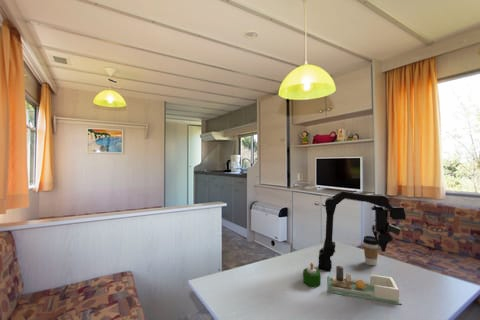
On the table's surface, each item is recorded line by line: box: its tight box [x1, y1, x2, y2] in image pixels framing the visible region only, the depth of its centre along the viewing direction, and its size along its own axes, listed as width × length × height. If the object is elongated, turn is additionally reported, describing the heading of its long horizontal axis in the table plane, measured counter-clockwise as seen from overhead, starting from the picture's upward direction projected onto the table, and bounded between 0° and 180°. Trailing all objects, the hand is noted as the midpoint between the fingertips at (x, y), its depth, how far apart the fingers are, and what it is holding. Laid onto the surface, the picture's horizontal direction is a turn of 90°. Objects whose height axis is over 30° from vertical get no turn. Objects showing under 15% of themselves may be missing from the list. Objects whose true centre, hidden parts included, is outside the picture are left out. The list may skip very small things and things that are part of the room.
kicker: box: [332, 265, 353, 290], centre depth 116 cm, size 8×7×8 cm
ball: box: [355, 279, 365, 289], centre depth 113 cm, size 4×4×4 cm
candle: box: [302, 262, 322, 288], centre depth 120 cm, size 8×8×10 cm
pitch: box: [327, 274, 402, 306], centre depth 113 cm, size 29×15×5 cm, turn 71°
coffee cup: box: [362, 235, 380, 266], centre depth 142 cm, size 8×8×15 cm
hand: (381, 248), depth 126 cm, fingers open, 9 cm apart
